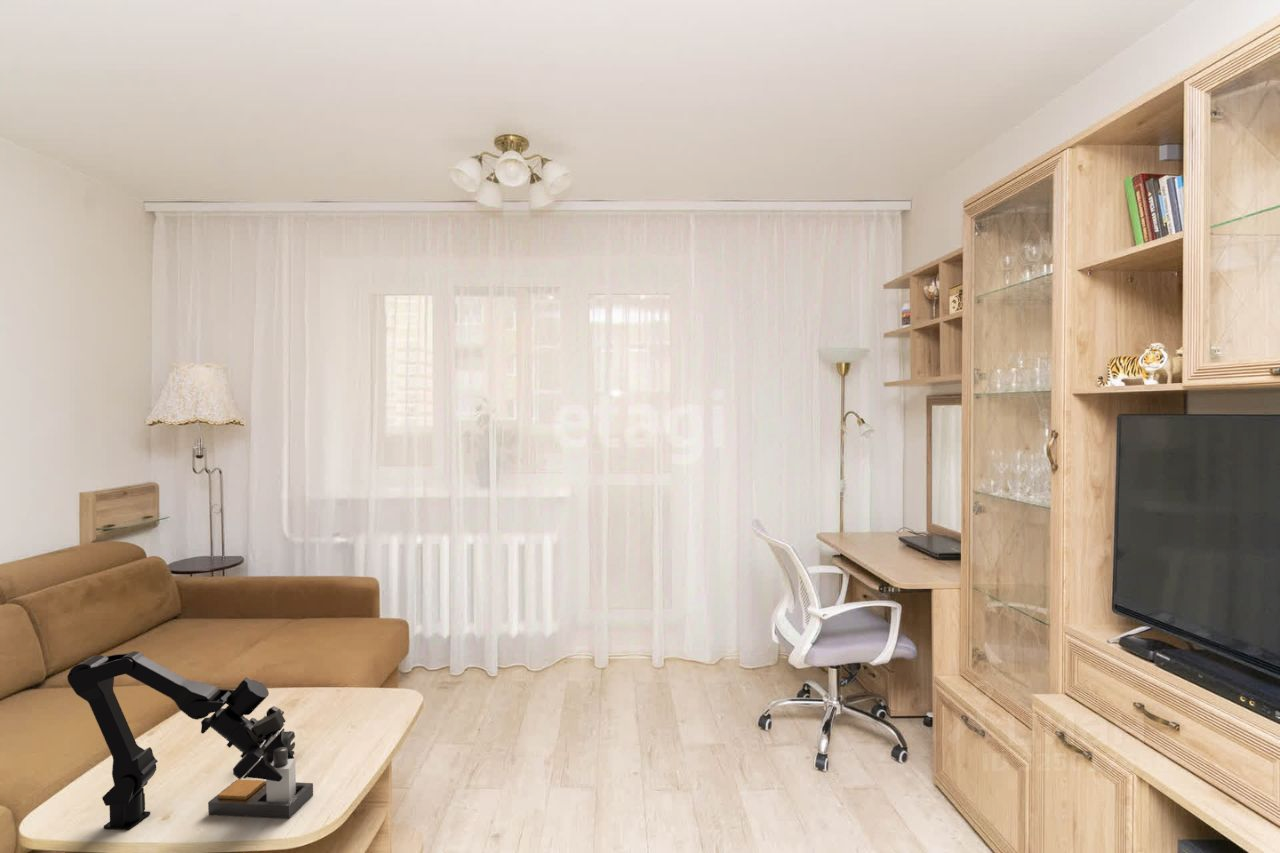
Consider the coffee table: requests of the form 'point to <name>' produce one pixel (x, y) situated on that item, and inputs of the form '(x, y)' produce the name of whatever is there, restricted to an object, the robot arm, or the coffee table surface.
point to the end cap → (287, 738)
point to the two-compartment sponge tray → (256, 800)
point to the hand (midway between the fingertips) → (287, 769)
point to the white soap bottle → (287, 784)
